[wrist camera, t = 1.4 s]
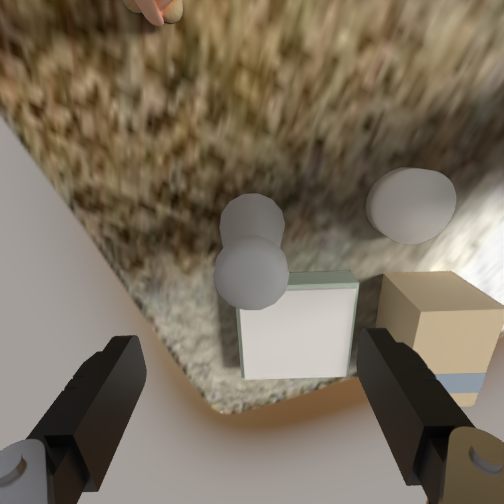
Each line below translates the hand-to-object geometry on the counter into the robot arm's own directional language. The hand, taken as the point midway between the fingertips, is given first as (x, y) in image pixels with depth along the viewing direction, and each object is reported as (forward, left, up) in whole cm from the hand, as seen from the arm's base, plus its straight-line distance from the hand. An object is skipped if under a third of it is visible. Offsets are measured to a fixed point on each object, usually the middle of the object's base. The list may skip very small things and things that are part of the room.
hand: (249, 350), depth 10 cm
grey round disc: (-14, -1, -18) cm, 23 cm away
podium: (-4, +12, -18) cm, 22 cm away
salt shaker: (0, 0, -18) cm, 18 cm away
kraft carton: (-17, +12, -18) cm, 28 cm away
